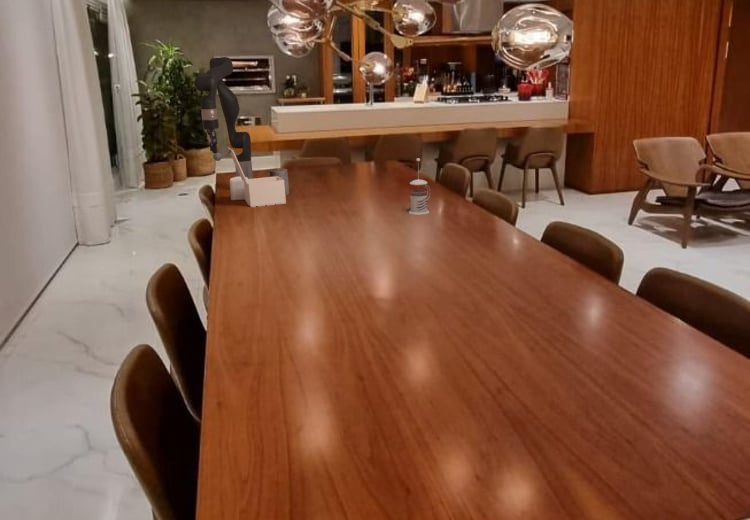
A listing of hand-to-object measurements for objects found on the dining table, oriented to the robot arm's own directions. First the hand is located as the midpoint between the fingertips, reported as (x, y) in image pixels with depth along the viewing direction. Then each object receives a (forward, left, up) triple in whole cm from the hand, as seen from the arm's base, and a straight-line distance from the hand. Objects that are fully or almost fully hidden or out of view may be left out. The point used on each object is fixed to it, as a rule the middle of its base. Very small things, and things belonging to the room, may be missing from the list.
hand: (213, 152), depth 313 cm
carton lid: (0, +11, -7) cm, 13 cm away
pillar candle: (-18, +35, -28) cm, 49 cm away
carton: (0, +23, -28) cm, 36 cm away
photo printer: (-16, +13, -28) cm, 35 cm away
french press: (+60, +83, -28) cm, 106 cm away
